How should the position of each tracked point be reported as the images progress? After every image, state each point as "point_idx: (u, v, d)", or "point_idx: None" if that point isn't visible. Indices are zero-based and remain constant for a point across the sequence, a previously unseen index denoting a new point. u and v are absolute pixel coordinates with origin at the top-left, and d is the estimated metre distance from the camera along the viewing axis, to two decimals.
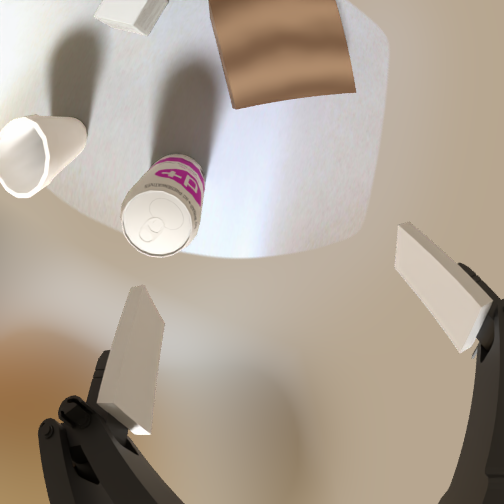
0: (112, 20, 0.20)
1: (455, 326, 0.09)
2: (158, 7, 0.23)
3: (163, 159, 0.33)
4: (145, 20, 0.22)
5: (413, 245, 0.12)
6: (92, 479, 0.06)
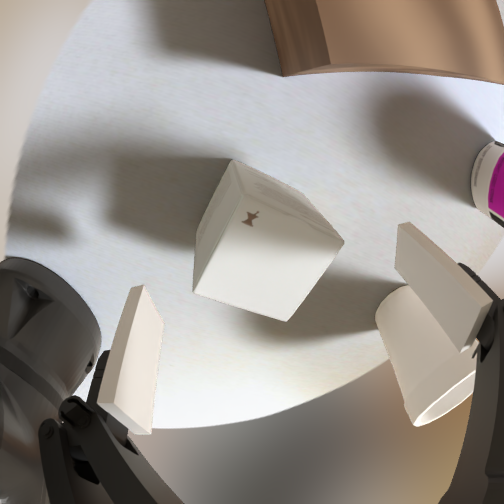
0: None
1: (455, 326, 0.09)
2: (263, 180, 0.16)
3: (490, 192, 0.18)
4: (306, 207, 0.16)
5: (413, 245, 0.12)
6: (92, 479, 0.06)
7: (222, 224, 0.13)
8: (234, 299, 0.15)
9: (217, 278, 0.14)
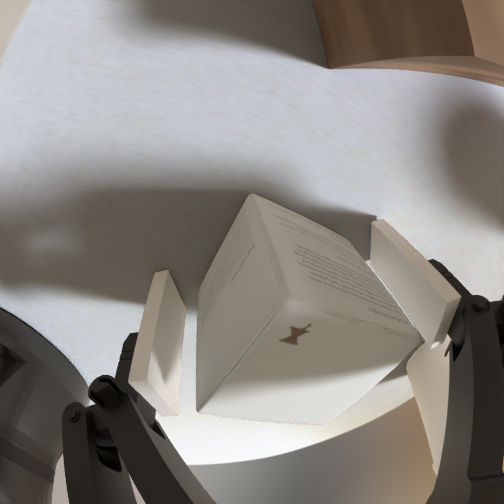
0: None
1: (425, 322, 0.10)
2: (303, 233, 0.10)
3: None
4: (366, 279, 0.10)
5: (384, 242, 0.12)
6: (114, 466, 0.07)
7: (243, 336, 0.07)
8: (258, 416, 0.09)
9: (234, 401, 0.08)
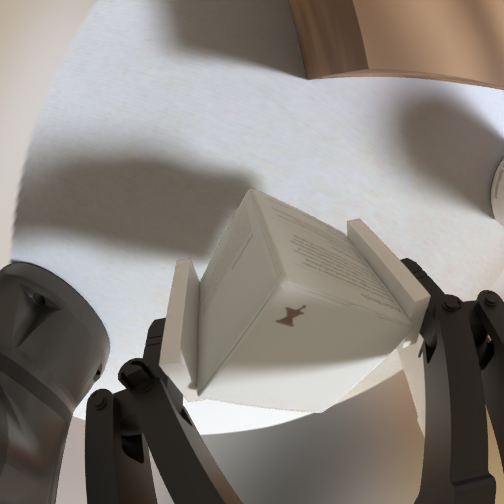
0: None
1: None
2: (299, 225, 0.11)
3: None
4: (360, 269, 0.11)
5: (358, 241, 0.13)
6: (136, 456, 0.07)
7: (242, 318, 0.08)
8: (256, 401, 0.10)
9: (233, 385, 0.09)
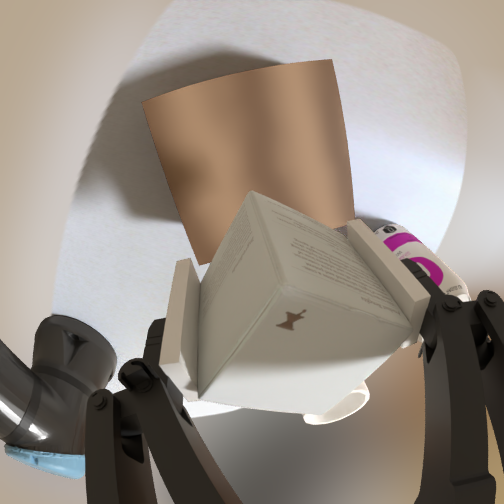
0: None
1: None
2: (300, 228, 0.11)
3: None
4: (360, 271, 0.11)
5: (359, 241, 0.13)
6: (136, 456, 0.07)
7: (242, 322, 0.08)
8: (256, 404, 0.10)
9: (233, 388, 0.09)
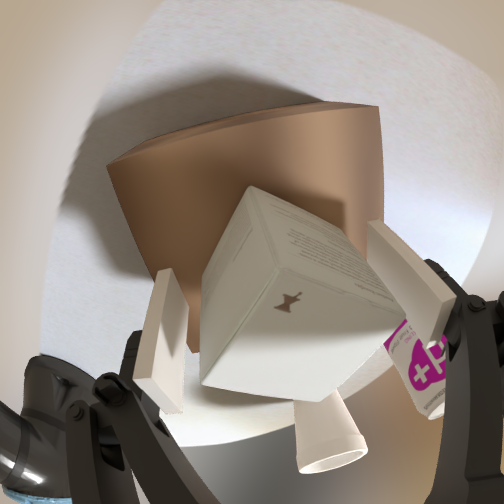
0: None
1: (420, 322, 0.10)
2: (296, 220, 0.12)
3: None
4: (354, 261, 0.11)
5: (380, 241, 0.12)
6: (117, 465, 0.07)
7: (242, 306, 0.08)
8: (256, 389, 0.10)
9: (234, 371, 0.09)
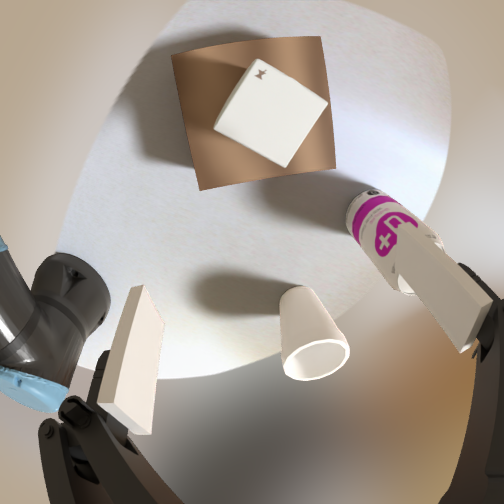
0: (306, 134, 0.18)
1: (455, 326, 0.09)
2: None
3: (352, 228, 0.36)
4: None
5: (413, 245, 0.12)
6: (92, 479, 0.06)
7: (241, 79, 0.16)
8: (245, 137, 0.18)
9: (234, 117, 0.17)
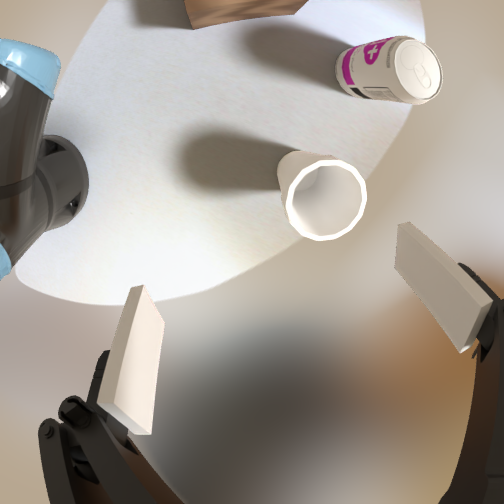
0: None
1: (455, 326, 0.09)
2: None
3: (343, 73, 0.30)
4: None
5: (413, 245, 0.12)
6: (92, 479, 0.06)
7: None
8: None
9: None
